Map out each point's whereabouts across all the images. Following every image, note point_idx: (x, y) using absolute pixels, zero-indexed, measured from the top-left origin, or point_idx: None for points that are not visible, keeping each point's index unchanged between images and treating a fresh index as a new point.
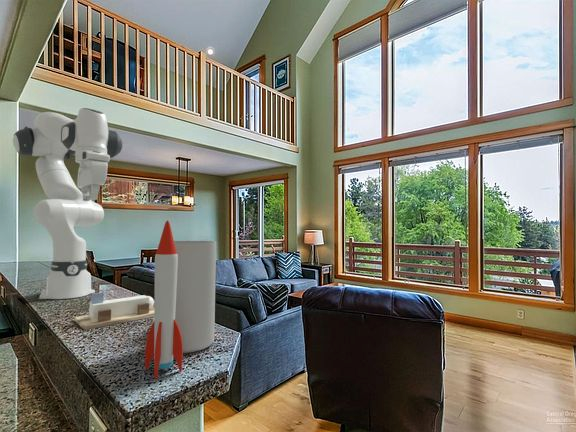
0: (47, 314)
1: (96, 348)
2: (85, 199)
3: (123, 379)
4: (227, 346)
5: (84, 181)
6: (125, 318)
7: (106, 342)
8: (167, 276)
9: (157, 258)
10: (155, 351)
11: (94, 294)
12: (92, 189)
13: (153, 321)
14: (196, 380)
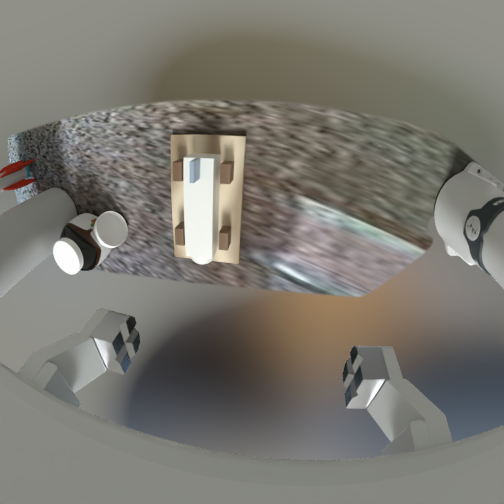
0: (336, 117)
1: (92, 132)
2: (352, 359)
3: (30, 141)
4: None
5: (175, 492)
6: (173, 197)
7: (104, 146)
8: None
9: None
10: (7, 166)
11: (190, 165)
12: (44, 350)
13: (106, 211)
14: None
